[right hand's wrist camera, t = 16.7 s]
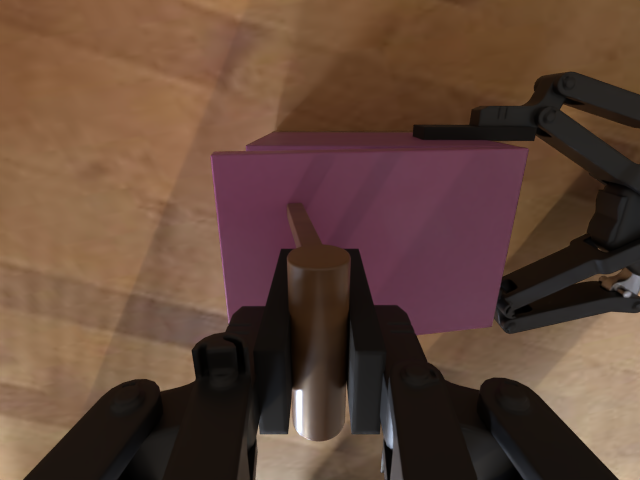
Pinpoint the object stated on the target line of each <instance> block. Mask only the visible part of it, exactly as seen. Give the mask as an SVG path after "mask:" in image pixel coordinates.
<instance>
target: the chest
mask: <svg viewBox="0 0 640 480" xmlns="http://www.w3.org/2000/svg"><path fill="white" fill-rule="evenodd" d="M497 146H512V145H508V144H503V143H498V142H493V141H488V140H422V139H419V138H416V137H413V132H393V131H273V132H272V133H270V134H268V135H266V136H264V137H262V138H260V139H258V140H256V141H254V142H252V143H250V144H248V145H246V151H283V150H336V149H390V148H443V147H497Z"/></svg>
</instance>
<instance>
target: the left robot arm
mask: <svg viewBox="0 0 640 480" xmlns="http://www.w3.org/2000/svg"><path fill="white" fill-rule="evenodd" d="M534 91H535V92H534V94H533V96H532V97H531V99H530V100H529V101H528V102H527V103H526V104H524V105H522V106H479V107H477V108H474V109H472V111H471V118H470V125H414V127H413V137H416V138H419V139H422V140H488V141H534V139H535V135H536V136H537V137H539V138H540V139H542V140H543V141H545V142H546V143H548V144H549V145H551V146H552V147H553V148H555V149H556V150H558V151H559V152H561V153H562V154H564V155H565V156H567V157H568V158H569V159H571V160H572V161H574V162H575V163H577V164H578V165H580V166H581V167H583V168H584V169H585V170H587V171H588V172H589V174H590V175H591V176H592V177H594V178H595V179H597V180H598V181H600V182H601V183H603V184H604V185H605V186H606V187H605V188H604V190H599V192H598V195H597V199H596V212H595V214H594V216H593V217H592V219H591V221H590V223H589V226H588V230H587V234H585V235H583V236H581V237H578V238H576V239H574V240H572V241H571V242H570V246H568V247H567V248H564V249H562V250H560V251H558V252H556V253H554V254H551V255H549V256H547V257H545V258H543V259H540V260H538V261H536V262H534V263H532V264H530V265H527V266H525V267H523V268H521V269H519V270H517V271H514V272H512V273H510V274H508V275H506V276H504V277H502V280H501V285H500V290H499V295H498V299H497V304H496V309H495V314H494V319H495V320H496V321H497V323H498V324H499V325H500V326H501V328H502V329H503V330H504V331H505V332H506V333H508V334H513V333H517V332H522V331H526V330H531V329H535V328H540V327H544V326H549V325H553V324H557V323H562V322H566V321H571V320H575V319H580V318H584V317H589V316H593V315H598V314H602V313H607V312H626V313H638V312H640V296H638V293H639V290H640V164H636V163H634V162H632V161H630V160H629V159H628V158H626V157H625V156H623V155H622V154H621V153H619V152H618V151H616V150H615V149H614V148H612V147H611V146H609V145H608V144H607V143H605V142H604V141H602V140H601V139H600V138H598V137H597V136H595V135H594V134H593V133H591V132H590V131H588V130H587V129H586V128H584V127H583V126H581V125H580V124H579V123H577V122H576V121H574V120H573V119H572V118H570V117H569V116H567V115H566V114H565V113H563V112H562V111H561V110H560V108H561V106H562V105H563V104H565V105H567V106H570V107H573V108H576V109H579V110H582V111H585V112H588V113H591V114H594V115H597V116H600V117H603V118H606V119H609V120H612V121H615V122H618V123H621V124H624V125H627V126H630V127H634V128H640V95H639V94H636V93H633V92H630V91H627V90H625V89H622V88H619V87H616V86H613V85H610V84H607V83H604V82H602V81H599V80H596V79H593V78H590V77H587V76H584V75H582V74H579V73H576V72H565V73H558V74H551V75H544V76H541V77H540V78H538V79H537V81H536V82H535V85H534ZM598 248H599V249H600V250H599V249H598ZM622 268H623V269H622ZM620 269H622V270H621V272H620V273H619V274H617V275H615V276H611V277H606V276H601V277H600V278H599V281H588V282H582V283H577V282H580V281H582V280H584V279H586V278H589V277H591V276H593V275H595V274H610V273H613V272H616V271H618V270H620ZM575 283H577V284H575Z"/></svg>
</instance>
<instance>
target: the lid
mask: <svg viewBox="0 0 640 480" xmlns="http://www.w3.org/2000/svg"><path fill="white" fill-rule="evenodd" d="M528 151H529V149H528V148H523V147H516V146H497V147H443V148H390V149H336V150H283V151H229V152H213V153H212V155H211V165H212V174H213V183H214V193H215V202H216V211H217V220H218V230H219V239H220V248H221V258H222V267H223V276H224V285H225V295H226V304H227V313H228V323H229V322H230V320H231V317H232V315H233V314H234V313H235V312H236V311H237V310H238V309H240V308H241V307H242V306H266V302H267V298H268V295H269V291H270V287H271V284H272V280H273V276H274V273H275V269H276V265H277V262H278V258H279V254H280V251H281V249H293V250H292V251H291V252H290V253H289V254H288V256H287V275H288V304H289V313H290V332H291V361H292V418H293V425H294V427H295V429H296V430H297V432H298V433H299V434H300V435H301V436H303V437H304V438H306V439H308V440H312V441H326V440H329V439H331V438H333V437H335V436H336V435H337V434H339V432H340V431H341V430H342V428H343V426H344V423H345V407H346V379H347V351H348V323H349V296H350V268H351V257H350V254H349V253H348V252H347V251H346V250H344V249H359V252H360V255H361V259H362V263H363V266H364V270H365V274H366V277H367V281H368V285H369V288H370V292H371V296H372V300H373V303H374V305H398V306H399V307H400V308H401V309H403V310H404V311H405V312H406V313H407V315H408V317H409V319H410V322H411V325H412V326H413V329H414V331H415V333H416V335H423V334H432V333H441V332H449V331H458V330H467V329H476V328H485V327H492V323H493V319H494V314H495V309H496V304H497V299H498V295H499V290H500V285H501V280H502V275H503V271H504V266H505V261H506V256H507V251H508V247H509V242H510V237H511V232H512V227H513V223H514V218H515V213H516V208H517V203H518V199H519V194H520V189H521V184H522V179H523V175H524V170H525V165H526V160H527V155H528Z"/></svg>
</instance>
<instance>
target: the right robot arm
mask: <svg viewBox="0 0 640 480" xmlns="http://www.w3.org/2000/svg"><path fill="white" fill-rule="evenodd" d="M292 250H293V249H281V251H280V254H279V258H278V262H277V265H276V269H275V273H274V276H273V280H272V284H271V287H270V291H269V295H268V298H267V302H266V306H242V307H241V308H240V309H238V310H237V311H236V312H235V313H234V314H233V315H232V317H231V320H230V322H229V326H228V327H227V329H226V332H223V333H217V334H213V335H211V336H208V337H205V338H204V339H202V340H201V341H199V342H198V343H197V344H196V345H195V346H194V348H193V349H192V356H193V362H194V369H195V375H196V380H195V381H194V382H192V383H190V384H188V385H185V386H182V387H178V388H174V389H170V390H166V391H161V392H160V389H159V386H158V385H157V384H156V383H155V382H154V381H150V380H147V379H135V380H131V381H128V382H124V383H122V384H120V385H118V386H116V387H114V388H112V389H111V390H109V391H108V392H107V393H106V394H105V395H103V396H102V397H101V398H100V399H99V400H98V401H97V402H96V403H95V405H94V406H93V407H92V408H91V409H90V410H89V411H88V412H87V413H86V414H85V415H84V416H83V417H82V418H81V419H80V420H79V421H78V422H77V423H76V425H75V426H74V427H73V428H72V429H71V430H70V431H69V432H68V433H67V434H66V435H65V436H64V437H63V438H62V439H61V440H60V441H59V442H58V443H57V445H56V446H55V447H54V448H53V449H52V450H51V451H50V452H49V453H48V454H47V455H46V456H45V457H44V458H43V459H42V460H41V461H40V462H39V464H38V465H37V466H36V467H35V468H34V469H33V470H32V471H31V472H30V473H29V474H28V475H27V476H26V477H25V478H24V479H23V480H255V476H256V464H257V453H258V451H257V440H256V435H257V430H258V425H259V429H260V434H288V429H289V418H290V408H291V398H292V361H291V332H290V313H289V304H288V275H287V256H288V254H289V253H290V252H291V251H292ZM344 250H346V251H347V252H348V253H349V254H350V257H351V268H350V296H349V323H348V351H347V379H346V381H347V391H348V401H349V412H350V422H351V432H352V434H380V425H382V430H383V435H384V440H383V451H382V462H381V473H384V475H385V480H619V479H618V478H617V477H616V476H615V475H614V474H613V473H612V472H611V471H610V470H609V469H608V468H607V467H606V466H605V465H604V464H603V463H602V462H601V461H600V459H599V458H598V457H597V456H596V455H595V454H594V453H593V452H592V451H591V450H590V449H589V448H588V447H587V446H586V445H585V444H584V443H583V442H582V441H581V440H580V439H579V437H578V436H577V435H576V434H575V433H574V432H573V431H572V430H571V429H570V428H569V427H568V426H567V425H566V424H565V423H564V422H563V421H562V420H561V419H560V418H559V417H558V416H557V414H556V413H555V412H554V411H553V410H552V409H551V408H550V407H549V406H548V405H547V404H546V403H545V402H544V401H543V400H542V399H541V398H540V397H539V396H538V395H537V394H536V393H535V392H534V391H532V390H531V389H530V388H529V387H527V386H525V385H523V384H521V383H519V382H517V381H514V380H510V379H507V378H491V379H488V380H485V381H484V383H483V384H482V385H481V387H480V390H476V389H472V388H467V387H463V386H459V385H456V384H453V383H450V382H448V381H446V380H445V379H444V377H443V376H442V374H441V372H440V371H439V370H438V369H437V368H436V367H434V366H433V365H432V364H430V363H428V362H427V360H426V357H425V355H424V352H423V350H422V348H421V345H420V343H419V341H418V338H417V336H416V333H415V331H414V329H413V326H412V325H411V322H410V319H409V317H408V315H407V313H406V312H405V311H404V310H403V309H401V308H400V307H399V306H398V305H374V303H373V300H372V296H371V292H370V288H369V285H368V281H367V277H366V274H365V270H364V266H363V263H362V259H361V255H360V252H359V249H344Z"/></svg>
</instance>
